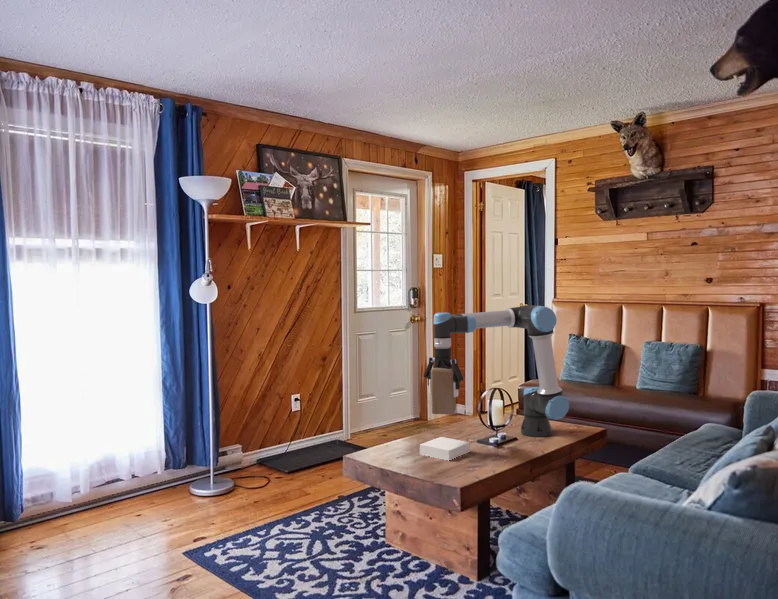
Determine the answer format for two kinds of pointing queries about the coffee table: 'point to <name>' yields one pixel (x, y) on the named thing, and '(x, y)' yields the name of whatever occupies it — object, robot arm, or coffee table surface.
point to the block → (442, 391)
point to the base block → (444, 448)
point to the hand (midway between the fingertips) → (443, 395)
